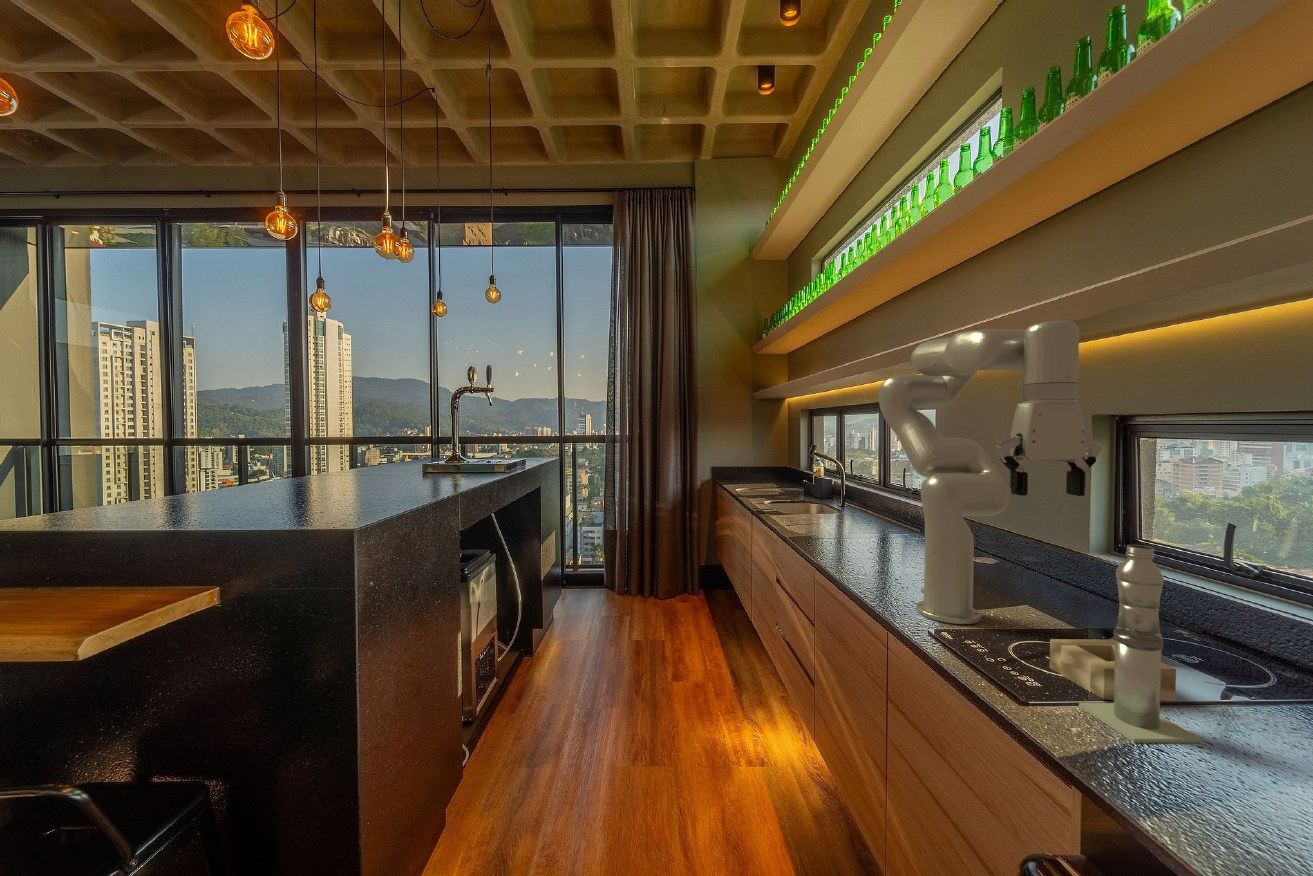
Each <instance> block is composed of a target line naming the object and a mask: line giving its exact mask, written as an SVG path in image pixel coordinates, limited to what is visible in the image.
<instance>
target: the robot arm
mask: <svg viewBox="0 0 1313 876" xmlns="http://www.w3.org/2000/svg"><path fill="white" fill-rule="evenodd" d="M1079 347H1080V328H1079V326H1078V325H1077V323H1076V322H1073V321H1071V320H1070V321H1069V320H1052V321H1043V322H1038V323H1034V324H1032V325H1030V326H1028V327H1027V328H1026V329H1017V328H1015V329H1011V328H1009V329H1008V328H984V329H983V328H982V329H974V330H968V331H962V332H957V333H955V334H954V335H952V336H949V337H942V338H941V337H940V338H935V339H931V340H926V341H924V342H921V343H920V344H918V345H917V347H915V348H914V350H913V351H912V353H911V357H910V358H911V359H910V360H911V361H910V362H911V365H912V367H913V369H915V371H916V372H918V373H919V374H917V373H916V374H913V373H912V374H910V373H905V374H896V375H893V376H890V377H888V378H886V379H884V381H883V382H882V383H881V385H880V387H879V391H878V403H879V404H878V405H879V408H880V412H881V415H882V416H883V418H884V420H885V422H886V423H887V424H888V426H889V428H891V430H892V431H893V432H894V434H895V435H896V436H897V437H896V438H897V439H898V440H899V442H900V444H901V446H902V448H903V451H904V452H905V455H906V456H907V458H908V460H909V462H910V464H911V466H912V468H913V469H914V471H915V472H916V473H917V474H918V475H919V476H921V477H925V479H924V480H923V482H922V483H921V486H920V500H921V504H922V509H923V518H924V566H923V567H924V572H923V573H924V575H923V577H924V578H923V580H924V581H923V587H921V588H920V592H921V594H923V600H921V601H919V602H916V603H915V604H916V606H915V609H916V612H918V613H919V614H920V615H921V616H923V617H926V618H928V619H930V620H934V621H937V622H941V623H943V622H944V623H948V624H956V625H971V624H977V623H979V622H980V621H981V619H982V615H981V613H980V611H978V610H977V609H975V608H973V606H974V605H973V602H974V601H973V600H974V597H973V596H974V565H975V563H974V561H975V559H974V558H975V557H974V555H975V553H974V551H975V549H974V548H975V545H974V544H975V540H974V539H975V538H974V535H973V532H972V530H971V528H970V526H969V525H968V523H967V522H966V520H965V518H964V517H975V516H976V517H985V516H986V517H987V516H996V515H999V514H1002V513H1003V512H1004V511H1006V509H1007V508H1008V506H1009V502H1010V493H1011V494H1012V495H1016V496H1023V497H1024V496H1027V495H1028V490H1029V487H1028V485H1029V483H1028V481H1029V479H1028V478H1029V473H1028V472H1026V471H1025V470H1026V469H1027V468H1028V467H1029V465H1030V464H1031V463H1032V462H1063V463H1065V465H1066V466H1067V467H1068V469H1070V470H1067V471H1066V479H1065V481H1066V485H1065V486H1066V487H1065V492H1066V494H1067V495H1072V496H1077V497H1084V496H1085V494H1086V493H1085V492H1086V491H1085V490H1086V489H1085V488H1086V474H1087V473H1089V472H1090V471H1091V468H1092V466H1094V464H1095V463H1096V462H1097V458H1098V456H1100V453H1101V451H1102V447H1101V445H1098V444H1096V443H1095V442H1092V441H1090V440H1089V439H1087V438H1086V428H1085V427H1086V426H1085V420H1084V413H1083V410H1082V409H1083V408H1082V405H1081V403H1080V402H1078V398H1079V397H1081V396H1082V395H1083V391H1084V390H1082V389H1081V388H1078V387H1079V384H1078V382H1079V355H1080V354H1079V349H1080V348H1079ZM977 371H1013V372H1015V371H1017V372H1018V371H1019V372H1020V371H1021V372H1022V371H1023V372H1022V403H1017V405H1016V408H1015V412H1014V416H1013V420H1012V426H1011V431H1010V432H1011V433H1010V438H1009V439H1007V440H1005V441H1004V442H1002V443H1000V444H998V445H996V446H995V450H996V452H997V454H998V457H999V458H1000V462H1002V464H1003V465H1004V466H1005V467H1006V470H1007V471H1009V472H1010V478H1009V479H1010V480H1009V483H1010V484H1009V487H1010V492H1009V489H1008V486H1007V484H1006V482H1005V480H1004V478H1003V476H1002V475H1001V474H1000V472H999V470H998V468H997V467H996V465H995V464H994V462H993V461H992V459H991V458H990V456H989V455H988V453H987V452H986V450H985V448H984V447H983V446H982V445H981V444H980V443H979V442H978V441H975V440H974V439H971V438H968V437H967V438H966V437H946V436H943V435H942V434H940V432H938V430H937V429H936V427H935V424H934V423H933V421H931V419H929V417H927V416H926V415H925V414H924V413H922V412H920V411H918V410H917V409H941V408H946V407H948V406H950V405H952V404H953V402H954V401H955V400H956V399H958V397H959V396H960V394H961V393H962V392H963V390H964V389H965V388H966V386H968V384H969V383H970V382H971V380H972V379H973V377H974V376H975V375H976V373H977Z"/></svg>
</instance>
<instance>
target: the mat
mask: <svg viewBox="0 0 1313 876" xmlns="http://www.w3.org/2000/svg"><path fill="white" fill-rule="evenodd" d="M1078 707H1080V708H1082V710H1084V711H1086V712H1087V713H1089V714H1090V715H1092V716H1093V717H1095V718H1096V719H1097V720H1099V721H1101V722H1103V724H1106V726H1108V727H1110V728H1111V729H1112V730H1114V731H1116V732H1117V733H1119V734H1120V735H1122V736H1123V737H1125V738H1126V739H1128V740H1129V741H1131V742H1132V743H1155V744H1156V743H1159V744H1160V743H1165V744H1166V743H1172V744H1173V743H1174V744H1176V743H1177V744H1178V743H1180V744H1181V743H1183V744H1186V743H1187V744H1188V743H1189V744H1190V743H1191V744H1192V743H1194V744H1195V743H1196V744H1197V743H1199V744H1202V738H1201V737H1198V736H1197V735H1195V734H1193V733H1192V732H1190V731H1188V730H1186V729H1185V728H1183V727H1182V726H1180V725H1178V724H1176V723H1174V722H1173V721H1171V720H1170V719H1167V718H1165V717H1164V716H1161V715H1160V724H1159V728H1157V729H1146V728H1141V727H1137V726H1133V725H1130V724H1128V723H1125V722H1123V721H1121V720H1120V719H1118V718H1117V717H1115V715H1114V702H1079V703H1078Z"/></svg>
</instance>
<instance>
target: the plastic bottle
mask: <svg viewBox="0 0 1313 876" xmlns="http://www.w3.org/2000/svg"><path fill="white" fill-rule="evenodd" d="M1125 555H1126V556H1127V557H1126V559H1125V560H1124V561H1123V562H1121V563H1120V564H1119V565H1118V567H1117V568H1116V571H1115V577H1116V584H1117V591H1118V601H1119V602H1118V605H1119V608H1118V615H1117V624H1116V626H1115V629H1118V628H1125V629H1133V630H1139V631H1143V632H1147V633H1151V634H1154V635H1156V636H1159V637H1160V638H1162V639H1163V637H1162V633H1161V628H1160V626H1161V625H1160V618H1159V613H1160V604H1161V603H1160V602H1161V594H1162V590H1163V586H1164V576H1163V574H1162V572H1161V570H1160V569H1159V568H1158V566H1157V565H1156V564H1155V563H1154V562H1153V560H1154V559H1155V548H1154V547H1152V546H1147V545H1139V544H1127V545H1126V552H1125ZM1162 651H1163V649H1161V653H1162Z"/></svg>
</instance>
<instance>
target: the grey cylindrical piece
mask: <svg viewBox="0 0 1313 876" xmlns="http://www.w3.org/2000/svg"><path fill="white" fill-rule="evenodd" d="M1112 638H1113V640H1115V672H1114V701H1113V703H1114V715H1115V717H1117V718H1118V719H1120V720H1121V721H1123V722H1125V723H1128V724H1130V725H1133V726H1137V727H1141V728H1146V729H1157V728H1159V724H1160V716H1161V714H1160V713H1161V701H1160V684H1161V662H1162V652H1161V649H1162V650H1163V649H1164V639H1163V637H1162V638H1160V637H1159V636H1156V635H1154V634H1151V633H1147V632H1143V631H1139V630H1133V629H1125V628H1118V629H1116V628H1114V629H1113V637H1112Z"/></svg>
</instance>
